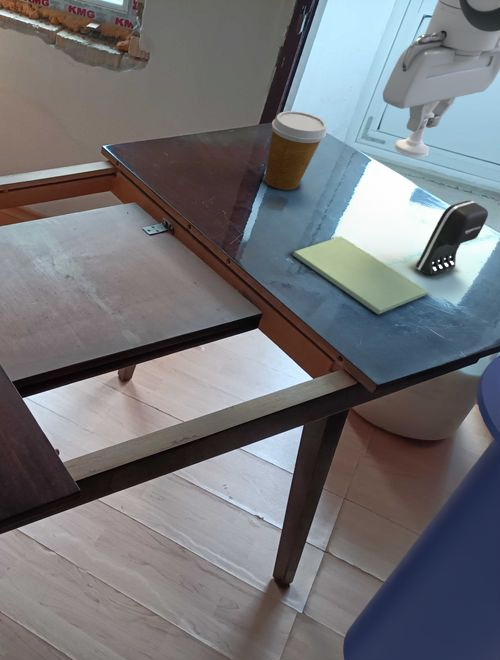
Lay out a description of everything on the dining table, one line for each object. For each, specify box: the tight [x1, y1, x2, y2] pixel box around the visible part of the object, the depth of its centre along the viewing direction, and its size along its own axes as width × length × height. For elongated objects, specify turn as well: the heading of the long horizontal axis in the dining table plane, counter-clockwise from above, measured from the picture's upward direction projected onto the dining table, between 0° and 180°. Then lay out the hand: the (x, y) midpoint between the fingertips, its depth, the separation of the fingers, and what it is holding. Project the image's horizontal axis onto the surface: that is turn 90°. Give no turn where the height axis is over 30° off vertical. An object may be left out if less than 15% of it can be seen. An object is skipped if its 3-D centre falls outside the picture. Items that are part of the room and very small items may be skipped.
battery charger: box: [415, 200, 489, 277], centre depth 106 cm, size 7×4×11 cm, turn 118°
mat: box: [292, 236, 428, 315], centre depth 107 cm, size 17×11×1 cm, turn 30°
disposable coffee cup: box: [263, 110, 327, 191], centre depth 126 cm, size 10×10×12 cm
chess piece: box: [393, 101, 440, 159], centre depth 100 cm, size 5×5×10 cm
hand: (421, 127), depth 101 cm, fingers closed on chess piece
